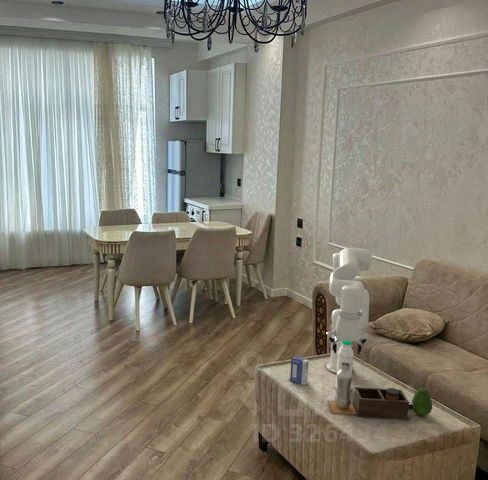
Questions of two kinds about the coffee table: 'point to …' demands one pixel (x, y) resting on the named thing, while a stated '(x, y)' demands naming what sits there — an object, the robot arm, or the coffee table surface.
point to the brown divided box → (379, 404)
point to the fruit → (422, 402)
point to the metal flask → (343, 386)
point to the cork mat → (342, 411)
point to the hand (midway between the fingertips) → (346, 352)
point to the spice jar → (392, 394)
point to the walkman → (299, 370)
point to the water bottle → (345, 356)
